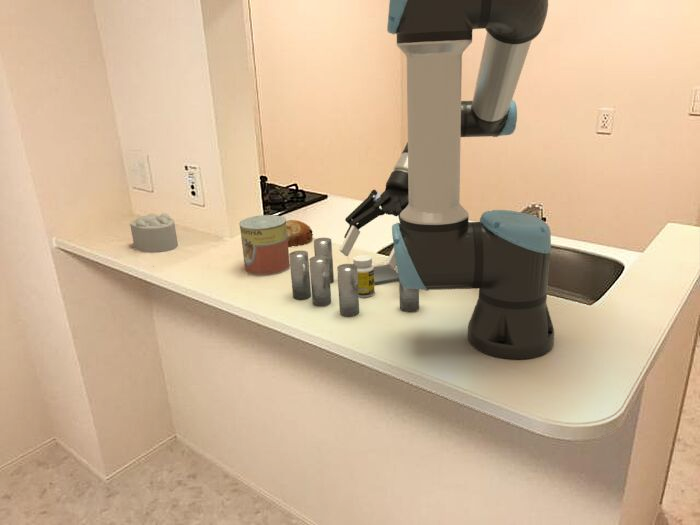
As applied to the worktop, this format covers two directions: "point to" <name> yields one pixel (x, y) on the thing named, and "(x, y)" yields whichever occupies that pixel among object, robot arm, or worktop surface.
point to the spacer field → (324, 277)
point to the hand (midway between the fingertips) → (365, 259)
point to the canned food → (265, 245)
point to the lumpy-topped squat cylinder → (154, 233)
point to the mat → (384, 275)
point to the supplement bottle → (365, 275)
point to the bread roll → (298, 233)
